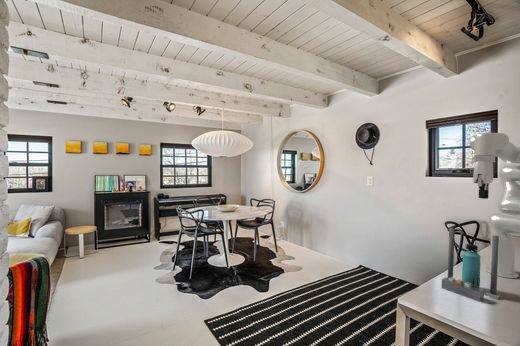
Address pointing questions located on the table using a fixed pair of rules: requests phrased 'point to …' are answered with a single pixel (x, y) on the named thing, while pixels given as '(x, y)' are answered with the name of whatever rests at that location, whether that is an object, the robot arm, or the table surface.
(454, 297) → the table surface
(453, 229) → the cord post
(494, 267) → the cord post
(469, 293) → the pdu strip
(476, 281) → the beverage bottle
